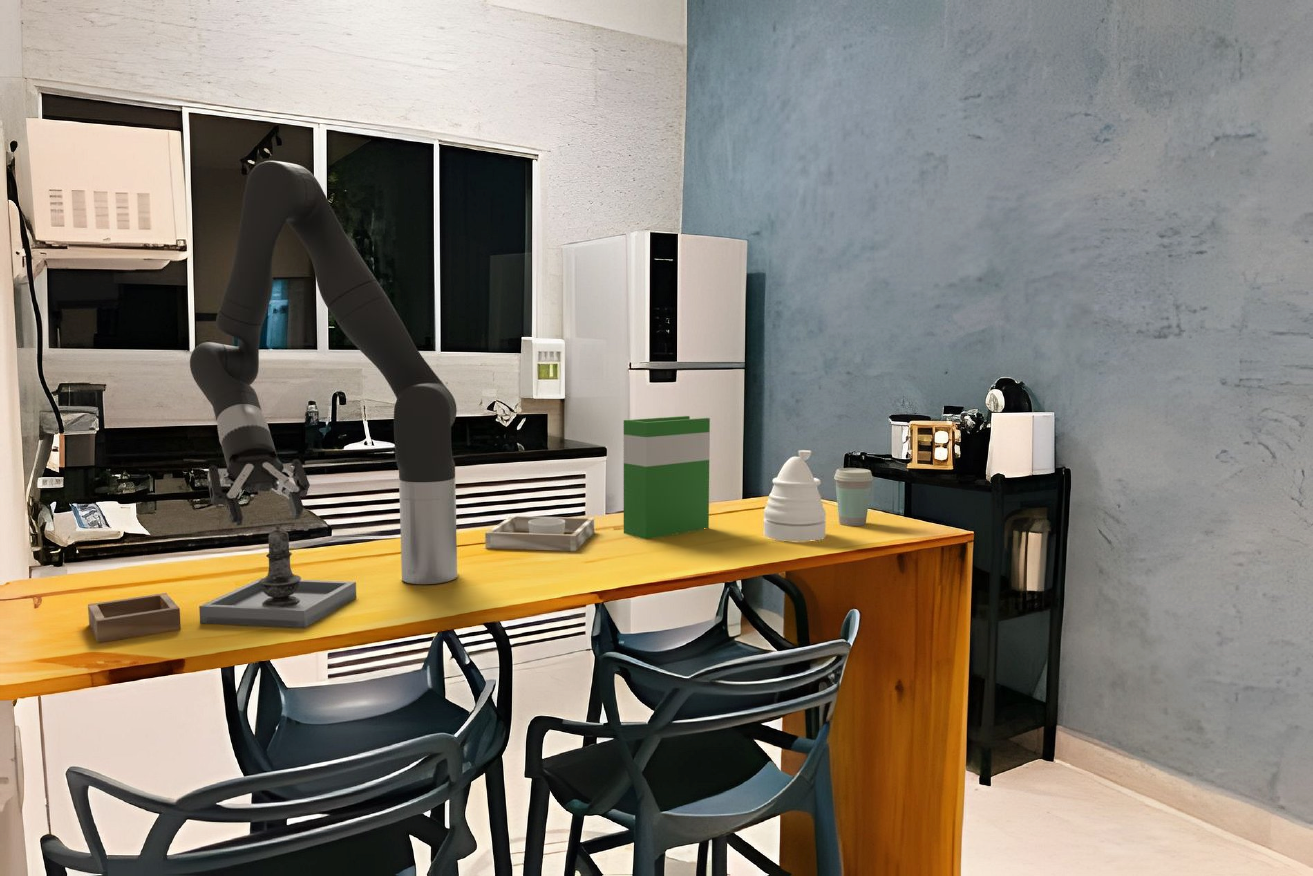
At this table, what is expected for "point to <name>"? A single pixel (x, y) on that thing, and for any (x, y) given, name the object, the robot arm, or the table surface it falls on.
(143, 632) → the collar
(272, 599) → the grey stone finial
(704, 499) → the green cereal box
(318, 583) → the tray
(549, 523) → the light grey bowl
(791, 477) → the honey pot
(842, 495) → the coffee cup
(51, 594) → the table surface
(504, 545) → the grey wooden tray
